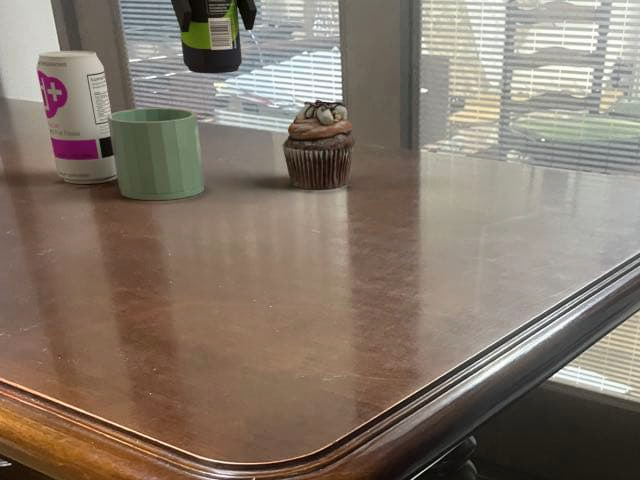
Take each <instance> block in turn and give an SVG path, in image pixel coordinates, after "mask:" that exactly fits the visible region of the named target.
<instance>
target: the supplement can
mask: <svg viewBox="0 0 640 480" xmlns="http://www.w3.org/2000/svg"><path fill="white" fill-rule="evenodd" d="M97 55H98V54H97V53H96V52H95V51H91V50H90V51H89V50H57V51H46V52H40V53H38V59H37V64H36V74H37V78H38V84H39V88H40V93H41V98H42V103H43V107H44V112H45V116H46V121H47V127H48V132H49V136H50V141H51V146H52V152H53V156H54V160H55V165H56V171H57V175H58V176H59V177H60V178H62V179H63V181H64V182H67V183H70V184H76V185H77V184H78V185H91V184H103V183H106V182H107V183H108V182H111V181H113V180H116V179H118V178H117V172H116V166H115V160H114V154H113V148H112V142H111V136H110V130H109V124H108V119H107V117H108V115H110V114H112V109H111V103H110V97H109V92H108V85H107V80H106V73H105V68H104V67H105V66H104V65H103V63H102V61H101V60H100V58H99V57H98V56H97Z"/></svg>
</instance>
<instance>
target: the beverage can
mask: <svg viewBox="0 0 640 480" xmlns="http://www.w3.org/2000/svg"><path fill="white" fill-rule="evenodd" d="M188 2H189V5H190V8H191V11H192V14H191V20H190V27H189V32H181V29H180V28H179V33H180V41H181V51H182V59H183V64H184V65H185V66H186V67H187V68H188V71H190V72H192V73H196V74H229V73H234V72H237V71H238V70H239V68H240V66H241V64H242V63H243V60H242V59H243V58H242V47H241V35H240V22H239V10H238V7H237V0H188Z"/></svg>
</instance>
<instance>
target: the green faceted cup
mask: <svg viewBox="0 0 640 480" xmlns="http://www.w3.org/2000/svg"><path fill="white" fill-rule="evenodd" d="M107 119H108V124H109V130H110V136H111V142H112V148H113V154H114V160H115V166H116V172H117V178H116V179H117V183H118V188H119V193H120V194H121V196H123V197H124V198H129V199H133V200H139V201H171V200H172V201H173V200H180V199H185V198H191V197H194V196H197V195H199V194H201V193H203V192H204V191H205V189H206V187H205V175H204V166H203V159H202V151H201V150H202V149H201V142H200V134H199V133H200V132H199V124H198V115H197V113H196V112H195V111H192V110H190V109H183V108H174V107H171V108H170V107H146V108H145V107H144V108H143V107H142V108H133V109H126V110H119V111H116V112H111V114H110V115H108V117H107Z"/></svg>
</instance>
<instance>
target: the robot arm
mask: <svg viewBox="0 0 640 480" xmlns="http://www.w3.org/2000/svg"><path fill="white" fill-rule="evenodd" d="M170 3H171V5H172V8H173V12H174V15H175V17H176V20H177V23H178V26H179V30H180V29H181V32H189V27H190V20H191V14H192V11H191V8H190V5H189V2H188V0H170ZM237 9H238V13H239V15H240V18H241V21H242V24H243V27H244V29H245V31H253V29H254V25H255V21H256V17H257V13H258V8H257V6H256V2H255V0H237Z"/></svg>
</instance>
